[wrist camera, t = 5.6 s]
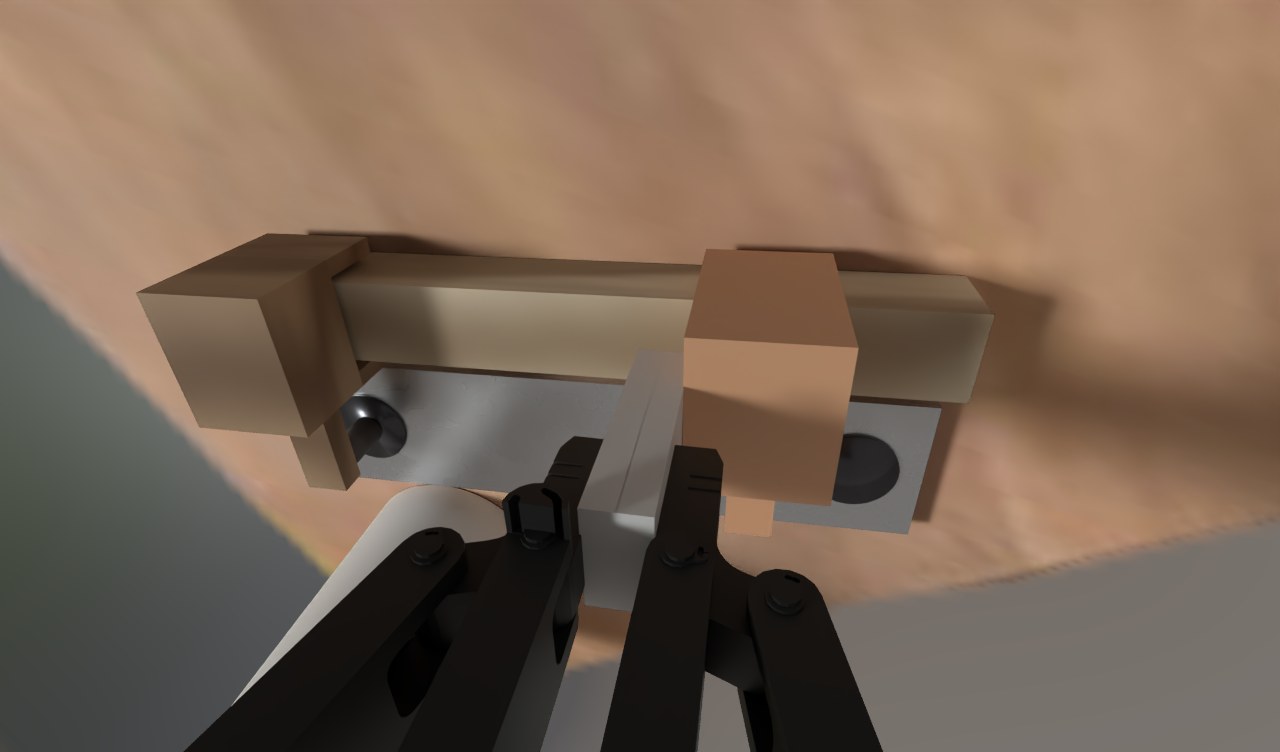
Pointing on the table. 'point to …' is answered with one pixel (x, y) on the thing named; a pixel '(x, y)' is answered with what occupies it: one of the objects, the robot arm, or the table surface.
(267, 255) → the fixed leg
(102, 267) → the table surface
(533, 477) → the bolt strip
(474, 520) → the cup
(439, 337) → the beam
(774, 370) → the block
